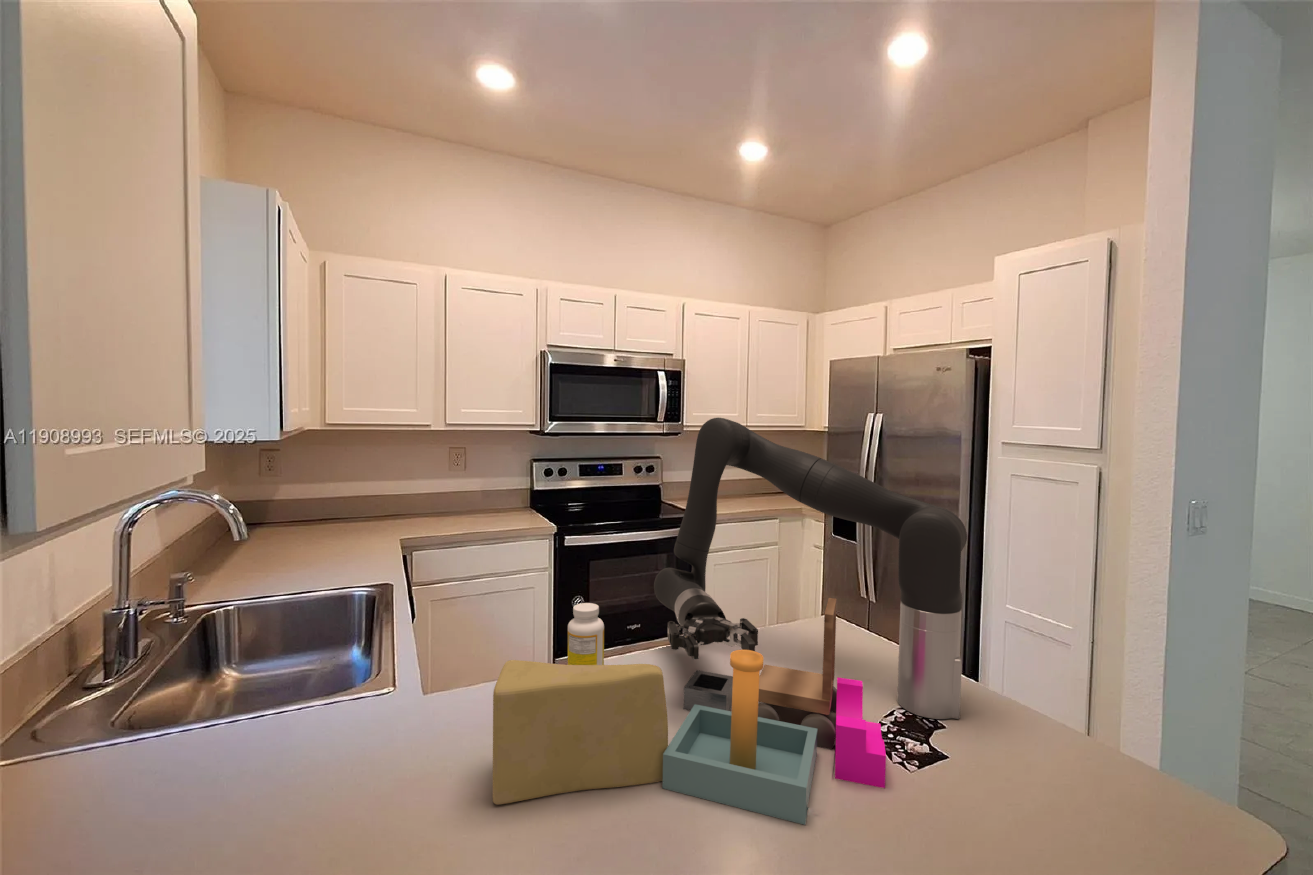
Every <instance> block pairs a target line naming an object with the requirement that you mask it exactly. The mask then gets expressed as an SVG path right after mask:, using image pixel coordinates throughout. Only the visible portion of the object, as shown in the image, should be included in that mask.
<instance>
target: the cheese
mask: <svg viewBox="0 0 1313 875" xmlns="http://www.w3.org/2000/svg"><path fill="white" fill-rule="evenodd" d="M664 679H665V678H664V675H663V671H662V668H660V667H659V666H658V665H654V664H649V663H632V664H604V665H568V664H562V663H561V664H559V663H548V662H541V661H530V660H518V659H511V660H507V661H505V663H504V664H503V666H502V668H501V670H500V673H499V676H498V678H497V680H496V683H495V685H494V688H493V693H492V802H493V804H494V805H498V806H499V805H505V804H506V805H507V804H511V803H516V802H520V801H521V802H522V801H527V800H533V799H536V798H542V797H548V796H553V795H560V794H563V793H571V792H572V793H573V792H579V791H586V790H598V789H610V788H611V789H612V788H620V787H628V786H629V787H632V786H638V785H645V784H653V783H654V784H655V783H659V782H663V754H664V752H665V750H666V749H667V747H668V746H669V721H668V720H669V719H668V710H667V701H666V693H665V692H666V691H665V682H664Z"/></svg>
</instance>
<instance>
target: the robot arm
mask: <svg viewBox="0 0 1313 875" xmlns="http://www.w3.org/2000/svg"><path fill="white" fill-rule="evenodd" d="M727 466H728V467H734V468H737V469H740V470H743V471H746V472H749V473H750V474H754V475H756V476H759V477H761V478H762V479H765V480H767V481H768V482H769V483H771V484H772V485H773V486H775V487H776V488H777V489H778V490H780V491H782V492H783V493H784V494H785V495H787V496H788V497H790V498H792V499H793V500H795V501H797V502H798V503H801V504H803V505H805V506H807V507H810V508H812V509H814V510H816V511H818V512H820V513H823V514H826V515H827V516H831V517H834V518H837V519H838V518H839V519H842V520H846V521H850V522H855V523H858V524H862V525H866V526H870V527H872V528H876V529H878V530H881V531H883V532H885V533H886V534H889V535H890V536H892V537H895V538H896V539H898V565H897V566H898V569H897V570H898V572H897V573H898V577H897V578H898V586H899V589H900V606H899V608H900V610H899V611H900V612H899V613H900V615H899V633H898V634H899V637H898V639H899V640H898V663H897V664H898V668H897V670H898V671H897V687H896V688H897V690H896V691H897V693H896V694H897V696H896V697H897V698H896V701H897V703H898V704H899V706H900V707H902V708H903V709H904V710H906V711H907V712H910V713H912V714H914V715H916V716H920V717H922V718H923V717H924V718H927V719H934V720H935V719H936V720H947V719H957V720H960V716H961V715H960V714H961V692H962V691H961V690H962V671H963V670H962V668H963V666H962V664H963V660H962V658H961V653H960V652H961V635H962V634H961V631H962V606H963V604H962V603H963V593H962V592H961V564H962V563H961V562H962V561H961V559H962V552H963V549H965V547H966V544H967V539H968V533H967V528H966V526H965V524H964V522H963V521H962V520H961V518H959V516H958V515H957V514H955V512H952V511H951V510H949V509H946V508H945V507H941V506H938V505H934V504H932V503H928V502H926V501H925V502H924V501H922V500H918V499H915V498H912V497H909V496H907V495H904V494H903V495H902V494H900V493H897V492H895V491H892V490H890V489H887V488H886V487H883V486H882V485H879V484H878V483H875V482H874V481H873V480H870V479H868V478H866V477H864V476H862V475H860V474H858V473H855V472H854V471H851V470H848V469H847V468H845V467H843V466H840V465H838V464H836V463H834V462H831V461H829V460H826V459H824V458H822V457H819V456H816V455H813V454H810V453H808V452H804V451H801V450H798V449H795V448H790V447H786V446H783V445H780V444H778V443H775V442H773V441H771V440H769V439H767V438H765V437H763V436H761V435H760V434H759V433H756V432H755V431H752V430H751V429H750V428H748V427H746V426H744V425H743V424H741V423H739V422H737V421H734V420H731V419H727V418H724V417H713V418H710V419H708V420H707V421H706V422H704V423H703V424H702V426H701V427H700V429H699V431H698V434H697V438H696V441H695V449H694V457H693V466H692V471H691V478H690V484H689V489H688V495H687V501H686V505H685V509H684V513H683V516H682V517H683V518H682V520H681V524H680V527H679V530H678V532H677V533H678V534H677V537H676V540H675V543H674V548H673V554H674V555H675V556H676V557H677V558H678V559H679V560H681V561H683V562H686V563H688V564H689V565H691V572H690V571H687V570H683V569H682V570H681V569H677V568H674V567H666V568H663V569H661V570H660V571H659V572H658V573H657V574H656V576H655V579H654V582H653V589H654V590H653V591H654V595H655V597H656V599H657V600H658V602H659V603H661V604H662V605H663V606H664V607H666V608H668V610H670V611H672V612H674V614H675V618H676V621H677V623H678V624H677V623H676V622H675V621H673V620H670V621H667V640H668V643H669V646H670V648H671V650H674V651H676V650H680V648H682V650H683V651H685V652H686V655H687V656H689V657H691V658H692V659H693V660H699V657H700V656H699V650H700V649H699V648H700V646H707V645H710V644H713V643H716V644H723V645H726V646H728V647H734V646H737V647H739V648H741V650H751V651H755V652H756V647H757V646H758V645H759V640H758V639H759V629H758V628H757V627H756V626H755V625H754V624H753V623H751V621H749V620H748V618H745V617H742V618H739V622H736V623H735V622H732V621H731V620H729V619H727V618H726V615H725V613H724V611H723V610H722V608H721V607H720V605H719V604H717V602H716V601H715V600H714V599H713V597H711V595H710V594H708V592H706V572H707V569H706V568H707V561H708V555H709V551H710V547H711V545H712V541H713V538H714V535H715V530H716V526H717V520H718V519H717V518H718V492H719V486H720V482H721V480H722V476H723V474H724V471H725V468H726V467H727ZM739 637H740V639H739Z"/></svg>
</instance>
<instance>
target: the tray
mask: <svg viewBox="0 0 1313 875" xmlns="http://www.w3.org/2000/svg"><path fill="white" fill-rule="evenodd" d="M731 714H732V710H730V711H726V710H721V709H716V708H711V707H706V706H701V705H696V704H695V705H694V706H693V708H692V709H691V711H690V710H689V713H688V714H687V715H686V717H685V719H684V721H683V722H682V723H681V726H680V727H679V728H678V729H677V732H676V733H675V735H674V737H672V739H671V741H670V742H669V743H668V747H667V749H666V750H665V752H664V754H663V781H662V789H664V790H668V791H671V792H677V793H679V794H684V795H688V796H691V797H696V798H700V799H704V800H707V801H711V802H715V803H719V804H723V805H727V806H730V807H734V808H738V809H742V810H745V811H749V812H754V813H757V814H761V815H765V816H769V817H774V818H777V819H781V820H785V821H788V822H793V823H796V824H800V825H804V826H806V822H807V818H808V811H809V806H808V805H809V800H810V794H811V790H812V784H813V776H814V773H815V772H814V771H815V768H816V760H817V754H818V747H817V733H818V729H816V728H811V727H806V726H801V724H795V723H790V722H785V721H781V720H780V721H776V720H771V719H766V718H761V717H758V724H757V749H756V769H755V770H754V769H749V768H745V767H741V766H737V765H732V764H730V741H731Z"/></svg>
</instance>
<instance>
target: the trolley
mask: <svg viewBox="0 0 1313 875" xmlns="http://www.w3.org/2000/svg"><path fill="white" fill-rule="evenodd" d="M837 600H838V599H837V598H833V597H832V598H831V597H828V600H827V603H826V608H825V610H824V619H823V649H822V650H823V653H822V654H823V657H822V673H819V672H811V671H806V670H800V669H794V668H789V667H782V666H777V665H771V664H763V669H762V670H761V671H760V673H759V699H758V717H761V718H766V719H771V720H776V721H781V720H780V716H779V715H778V712H777V711H776V710H775V708H773V707H772V706H770V705H774V706H779V707H784V708H789V709H795V710H801V711H806V712H812V713H810V714H807V715H806V716H804V717H803V719H802V720H801V722H800V725H801V726H806V727H811V728H816V729H818V733H817V748H823V749H826V750H832V749H833V748H834V746H835V744H836V726H834V724H833V722H832V721H831V720H830V719H829V718H828V717H826V716H830V713H835V714H836V701H837V687H835V686H834V682H835V668H836V666H835V664H836V663H835V662H836V636H837V634H836V632H837V631H836V629H837ZM825 715H826V716H825Z"/></svg>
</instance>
